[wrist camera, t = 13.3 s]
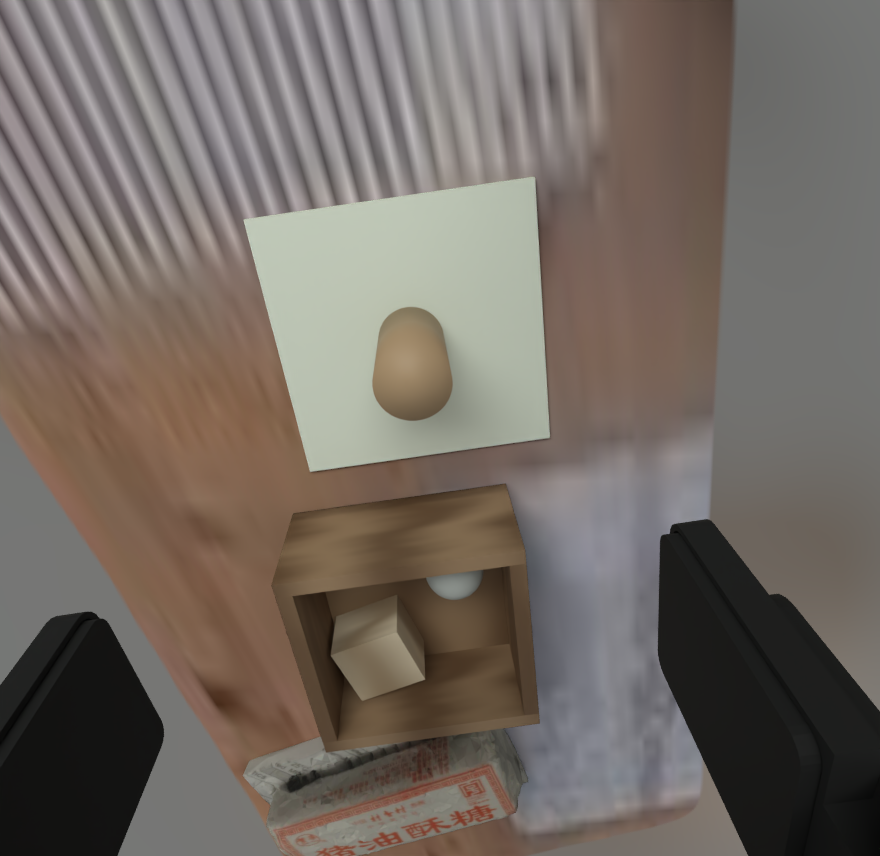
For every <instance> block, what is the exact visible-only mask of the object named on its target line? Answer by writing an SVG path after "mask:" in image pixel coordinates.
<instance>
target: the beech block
mask: <svg viewBox="0 0 880 856" xmlns="http://www.w3.org/2000/svg"><path fill="white" fill-rule="evenodd" d="M331 657H332V658H333V660H334V661H335V663H336V664H337V665H338V667H339V668H340V670H341V671H342V673H343V674H344V676H345V677H346V678H347V680H348V681H349V683H350V684H351V686H352V687H353V689H354V690H355V692H356V693H357V694H358V696H359V697H360V699H361V700H362V701H364V700H367V699H370V698H373V697H375V696H378V695H381V694H384V693H387V692H390V691H393V690H396V689H399V688H402V687H405V686H408V685H411V684H413V683H416V682H419V681H422V680H425V659H424V640H423V638H422V636H421V634H420V633H419V631H418V629H417V628H416V626H415V624H414V622H413V621H412V619H411V617H410V616H409V614H408V612H407V610H406V609H405V607H404V605H403V603H402V602H401V600H400V598H399V597H398V595H394V596H391V597H389V598H386V599H383V600H380V601H378V602H375V603H372V604H369V605H367V606H364V607H361V608H358V609H356V610H353V611H350V612H347V613H345V614H342V615H339V616H336V621H335V628H334V635H333V642H332V649H331Z"/></svg>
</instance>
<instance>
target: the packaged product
mask: <svg viewBox="0 0 880 856" xmlns="http://www.w3.org/2000/svg"><path fill="white" fill-rule="evenodd" d="M243 776H244V778H245V779H246V780H247V781H248V782H249V783H250V785H251V786H252V787H253V788H254V789H255V790H256V791H257V792H258V793H259V794H260V795H261V796H262V798H264V799H265V800H266V801H267V802H268V803H269V804H270V805H271V806H270V810H269V814H268V817H267V826H266V827H267V828H269V830H270V833H271V834H272V836H273V837H274V839H275V841H276V843H277V845H278V847H279V849H280V850H281V851H282V852H283V853H284V854H286V855H291V856H358V855H363V854H369V853H371V852H376V851H379V850H383V849H386V848H389V847H394V846H396V845H401V844H405V843H408V842H414V841H417V840H420V839H423V838H427V837H432V836H436V835H440V834H444V833H447V832H452V831H455V830H458V829H461V828H465V827H469V826H473V825H479V824H481V823H483V822H487V821H491V820H495V819H502V818H503V817H507V816H509V815H510V814H513V813H516V811H517V808H518V796H519V793H520V789H521V786H522V784H523V783H526V782H528V777H527V775H526V773H525V771H524V768H523V766H522V764H521V762H520V759H519V757H518V755H517V753H516V750H515V748H514V746H513V744H512V742H511V741H510V739H509V737H508V735H507V733H506V732H505V730H504V728H502V729H495V730H488V731H480V732H473V733H466V734H459V735H451V736H444V737H437V738H429V739H422V740H415V741H407V742H400V743H393V744H385V745H378V746H371V747H364V748H356V749H349V750H342V751H334V752H327V753H326V751H325V748H324V745H323V742H322V739H321V737H318V738H315V739H312V740H309V741H306V742H303V743H300V744H297V745H294V746H291V747H288V748H285V749H282V750H279V751H276V752H273V753H270V754H267V755H264V756H261V757H258V758H255V759H253V760H251V761H249V763H248V765H247V768H246V770H245V772H244V774H243Z"/></svg>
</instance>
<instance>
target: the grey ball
mask: <svg viewBox="0 0 880 856" xmlns="http://www.w3.org/2000/svg"><path fill="white" fill-rule="evenodd" d="M482 577H483V570H477V571H470V572H463V573H456V574H448V575H441V576H434V577H427V578H426V579H427V582H428V584H429V586H430V587H431V589H432V590H433V591H434V592H435V593H436V594H438V595H439V596H441V597H443V598H445V599H449V600H459V599H463V598H466V597H468V596H470V595H471V594H472V593H473V592H475V591H476V589H477V588H478V587H479V585H480V583H481V581H482Z"/></svg>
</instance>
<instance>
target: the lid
mask: <svg viewBox="0 0 880 856" xmlns="http://www.w3.org/2000/svg"><path fill="white" fill-rule="evenodd" d="M244 224H245V227H246V231H247V235H248V239H249V243H250V246H251V250H252V254H253V258H254V261H255V265H256V269H257V273H258V277H259V280H260V284H261V288H262V292H263V295H264V299H265V303H266V307H267V311H268V314H269V318H270V322H271V326H272V329H273V333H274V337H275V341H276V344H277V348H278V352H279V356H280V360H281V363H282V367H283V371H284V375H285V378H286V382H287V386H288V390H289V394H290V397H291V401H292V405H293V409H294V412H295V416H296V420H297V424H298V428H299V431H300V435H301V439H302V443H303V446H304V450H305V454H306V458H307V462H308V465H309V469H310V472H313V471H320V470H327V469H334V468H341V467H348V466H355V465H362V464H369V463H376V462H383V461H390V460H397V459H404V458H411V457H418V456H425V455H432V454H439V453H446V452H453V451H460V450H467V449H474V448H482V447H489V446H496V445H503V444H510V443H517V442H524V441H531V440H538V439H545V438H550V431H549V413H548V396H547V379H546V361H545V344H544V326H543V309H542V292H541V274H540V257H539V239H538V222H537V205H536V187H535V177H528V178H522V179H515V180H508V181H501V182H494V183H488V184H481V185H474V186H467V187H460V188H454V189H447V190H440V191H433V192H426V193H420V194H413V195H406V196H399V197H392V198H386V199H379V200H372V201H365V202H358V203H352V204H345V205H338V206H331V207H324V208H318V209H311V210H304V211H297V212H290V213H284V214H277V215H270V216H263V217H256V218H250V219H244Z"/></svg>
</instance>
